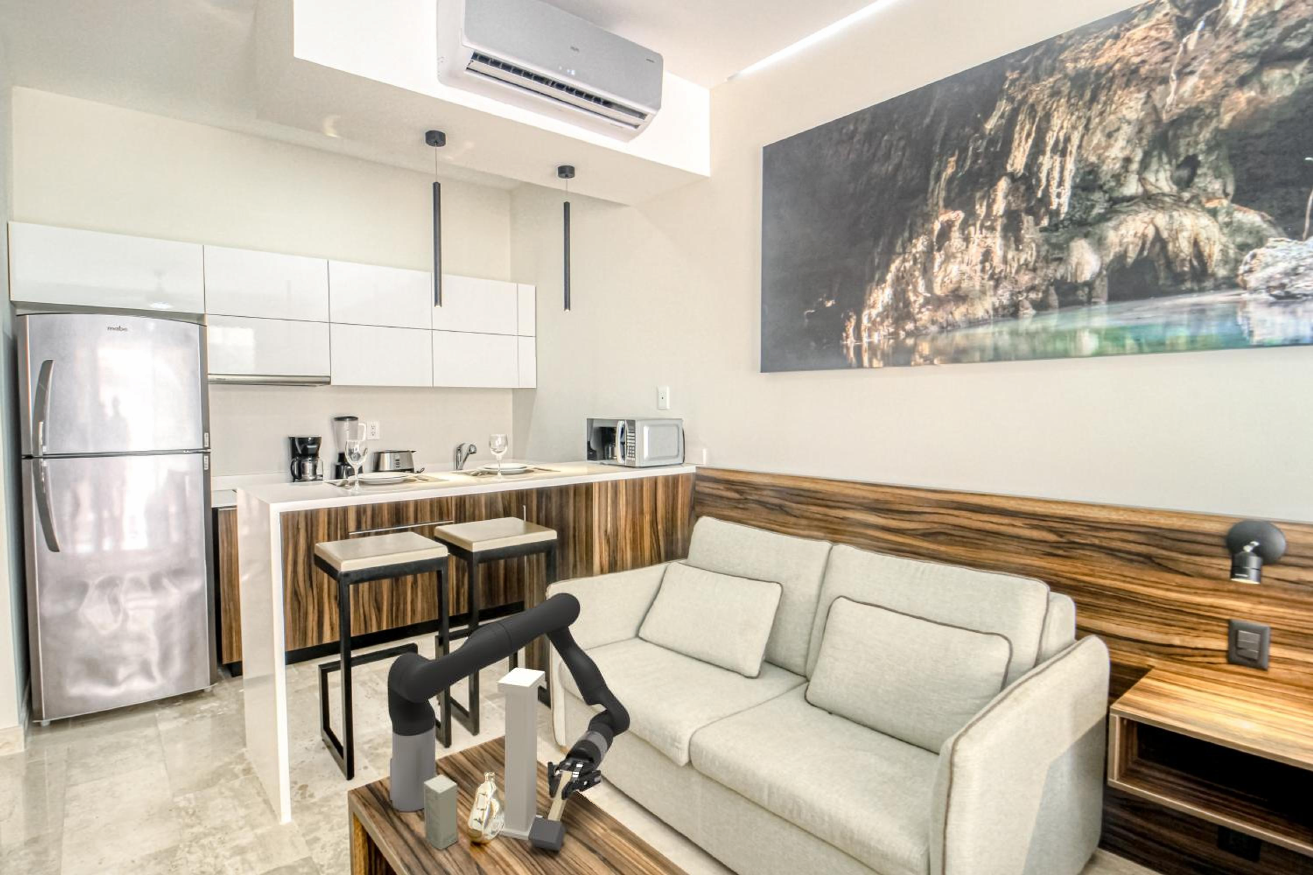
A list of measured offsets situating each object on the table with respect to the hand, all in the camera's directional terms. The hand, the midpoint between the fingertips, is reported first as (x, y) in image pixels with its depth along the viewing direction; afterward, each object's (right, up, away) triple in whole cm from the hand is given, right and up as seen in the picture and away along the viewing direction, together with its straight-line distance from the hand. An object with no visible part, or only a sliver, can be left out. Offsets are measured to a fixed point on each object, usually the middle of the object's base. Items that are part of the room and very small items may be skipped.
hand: (557, 794), depth 141 cm
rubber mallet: (0, -4, +1) cm, 4 cm away
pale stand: (-8, -8, +2) cm, 12 cm away
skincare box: (-24, -8, -3) cm, 25 cm away
